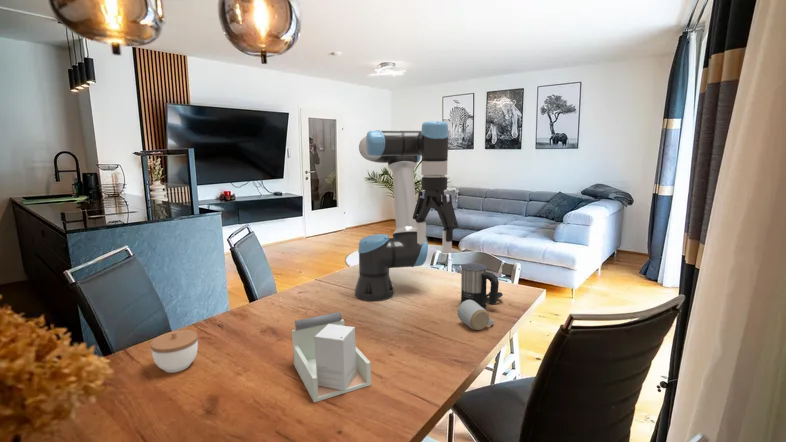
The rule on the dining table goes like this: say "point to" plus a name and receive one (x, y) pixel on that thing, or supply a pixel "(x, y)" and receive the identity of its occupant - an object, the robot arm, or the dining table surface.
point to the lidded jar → (175, 350)
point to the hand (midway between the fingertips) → (433, 247)
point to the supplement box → (335, 356)
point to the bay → (307, 357)
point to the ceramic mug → (474, 315)
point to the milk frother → (478, 284)
